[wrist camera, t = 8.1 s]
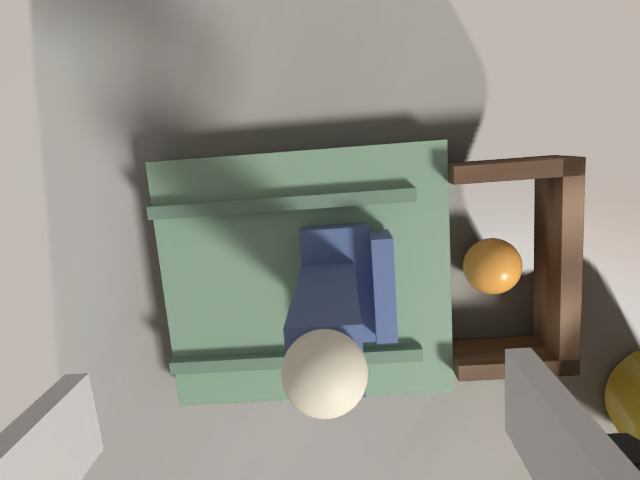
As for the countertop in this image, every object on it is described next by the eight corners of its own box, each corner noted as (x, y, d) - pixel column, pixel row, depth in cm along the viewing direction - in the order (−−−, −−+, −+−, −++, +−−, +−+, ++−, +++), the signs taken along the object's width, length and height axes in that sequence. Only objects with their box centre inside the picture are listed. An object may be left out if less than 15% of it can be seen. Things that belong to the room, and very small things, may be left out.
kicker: (299, 226, 30) (266, 298, 16) (387, 220, 29) (430, 288, 16) (308, 335, 31) (285, 488, 17) (392, 331, 31) (436, 481, 17)
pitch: (159, 161, 32) (139, 163, 29) (438, 139, 31) (450, 139, 28) (190, 387, 35) (175, 412, 32) (445, 373, 34) (456, 398, 31)
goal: (439, 163, 31) (453, 166, 27) (554, 155, 31) (585, 157, 27) (444, 353, 34) (458, 381, 30) (551, 347, 33) (579, 375, 30)
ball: (498, 231, 32) (451, 237, 32) (535, 240, 29) (483, 247, 28) (499, 282, 33) (453, 289, 32) (534, 296, 30) (484, 305, 29)
